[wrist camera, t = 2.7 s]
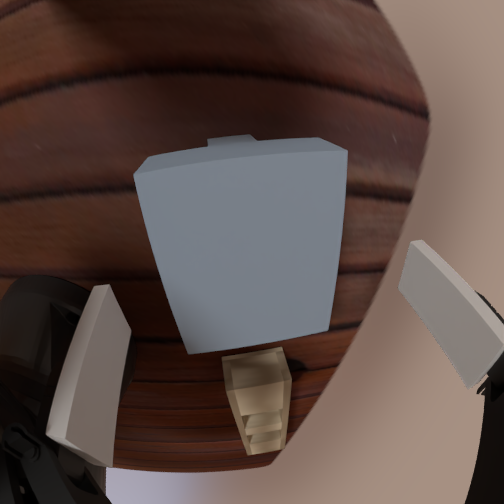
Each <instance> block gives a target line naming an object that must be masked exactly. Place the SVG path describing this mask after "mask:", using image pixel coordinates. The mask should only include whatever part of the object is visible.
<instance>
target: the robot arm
mask: <svg viewBox="0 0 504 504" xmlns="http://www.w3.org/2000/svg"><path fill="white" fill-rule="evenodd" d="M398 289H399V291H400V292H401V293H402V294H403V296H404V297H405V298H406V300H407V301H408V302H409V304H410V305H411V306H412V307H413V309H414V310H415V312H416V313H417V314H418V316H419V317H420V318H421V320H422V321H423V322H424V324H425V325H426V326H427V328H428V329H429V331H430V332H431V333H432V335H433V336H434V338H435V339H436V341H437V342H438V344H439V345H440V347H441V348H442V350H443V351H444V353H445V354H446V356H447V357H448V359H449V360H450V362H451V363H452V365H453V366H454V368H455V369H456V371H457V373H458V374H459V375H460V377H461V379H462V380H463V382H464V384H465V385H466V387H467V389H470V388H471V387H473V386H474V385H475V384H477V383H478V382H480V381H481V379H482V378H483V377H484V376H485V375H486V373H487V374H488V376H489V377H488V378H487V379H486V380H485V382H484V383H483V384H482V385H481V386H480V387H479V388H478V390H477V394H479V393H480V392H481V391H482V390H483V389H484V388H485V390H484V391H483V392H482V394H481V395H485V402H484V414H483V423H482V431H481V438H480V444H479V449H478V455H477V460H476V464H475V469H474V473H473V477H472V481H471V485H470V488H469V491H468V495H467V498H466V501H465V504H504V319H503V318H502V317H501V316H500V315H499V313H497V312H496V310H495V309H494V308H493V307H491V304H490V303H489V302H488V301H487V300H486V299H485V297H484V296H482V295H481V294H479V293H478V292H476V291H474V290H473V289H472V288H471V287H470V286H469V285H468V284H467V283H466V282H465V281H464V280H463V279H462V277H461V276H460V275H459V274H458V273H457V272H456V271H455V270H453V268H451V266H449V265H448V264H447V263H446V262H445V261H444V260H443V259H442V258H441V257H440V256H439V255H438V254H437V253H436V252H435V251H434V250H433V249H431V248H430V247H429V246H428V245H427V244H426V243H425V242H424V241H423V240H417V241H411V242H410V245H409V249H408V253H407V257H406V261H405V264H404V268H403V272H402V275H401V279H400V282H399V286H398ZM136 358H137V348H136V344H135V341H134V338H133V336H132V334H131V329H130V327H129V325H128V323H127V321H126V319H125V317H124V315H123V313H122V311H121V309H120V306H119V304H118V302H117V300H116V298H115V296H114V293H113V291H112V289H111V287H110V284H108V285H100V286H94V287H93V290H92V292H91V293H89V292H88V291H86V290H84V289H83V288H81V287H79V286H77V285H74V284H72V283H70V282H67V281H65V280H62V279H59V278H55V277H51V276H45V275H30V276H25V277H22V278H20V279H18V280H16V281H15V282H14V283H12V285H11V286H10V287H9V289H8V290H7V292H6V293H5V295H4V296H3V298H2V300H1V301H0V504H112V503H111V502H110V500H109V499H108V498H107V497H106V467H110V468H112V465H113V450H114V438H115V428H116V419H117V411H118V406H119V404H120V402H121V400H122V398H123V396H124V394H125V392H126V390H127V388H128V386H129V385H130V383H131V381H132V379H133V376H134V372H135V365H136Z"/></svg>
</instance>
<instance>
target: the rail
mask: <svg viewBox="0 0 504 504" xmlns="http://www.w3.org/2000/svg"><path fill="white" fill-rule="evenodd" d="M222 365H223V373H224V381H225V389H226V393H227V396H228V400H229V403H230V406H231V409H232V412H233V415H234V418H235V421H236V424H237V426H238V429H239V432H240V435H241V438H242V441H243V443H244V446H245V449H246V452H247V454H248V455H252V454H259V453H264V452H270V451H275V450H280V449H284V448H285V442H286V433H287V424H288V415H289V405H290V395H291V384H292V378H291V375H290V372H289V368H288V365H287V362H286V359H285V355H284V352H283V349H282V347H278V348H273V349H267V350H262V351H256V352H250V353H244V354H237V355H231V356H224V357H222Z"/></svg>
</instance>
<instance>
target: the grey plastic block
mask: <svg viewBox="0 0 504 504" xmlns="http://www.w3.org/2000/svg"><path fill="white" fill-rule="evenodd" d="M207 140H208V147H201V148H195V149H188V150H182V151H176V152H171V153H165V154H160V155H155V156H150V157H148V158H147V159H146V160H145V161H144V163H143V164H142V165H141V166H140V167H139V169H138V170H137V171H136V172H135V173H134V180H135V184H136V189H137V193H138V197H139V202H140V206H141V210H142V214H143V218H144V221H145V225H146V229H147V233H148V236H149V240H150V243H151V247H152V250H153V254H154V257H155V261H156V264H157V267H158V270H159V274H160V277H161V280H162V283H163V286H164V289H165V292H166V295H167V298H168V301H169V304H170V307H171V310H172V312H173V315H174V318H175V321H176V324H177V326H178V329H179V332H180V334H181V337H182V340H183V342H184V345H185V347H186V350H187V352H188V354H196V353H204V352H212V351H219V350H226V349H233V348H240V347H246V346H252V345H258V344H264V343H269V342H275V341H280V340H285V339H290V338H295V337H300V336H305V335H309V334H314V333H318V332H322V331H327V330H328V328H329V322H330V316H331V311H332V305H333V298H334V292H335V285H336V278H337V271H338V263H339V255H340V247H341V238H342V228H343V218H344V206H345V192H346V176H347V154H348V151H347V150H345V149H343V148H341V147H339V146H337V145H334V144H332V143H330V142H328V141H325V140H323V139H321V138H293V139H276V140H263V141H257V140H256V139H255V138H253V137H252V136H251V135H250V134H247V135H237V136H227V137H219V138H211V139H207Z"/></svg>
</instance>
